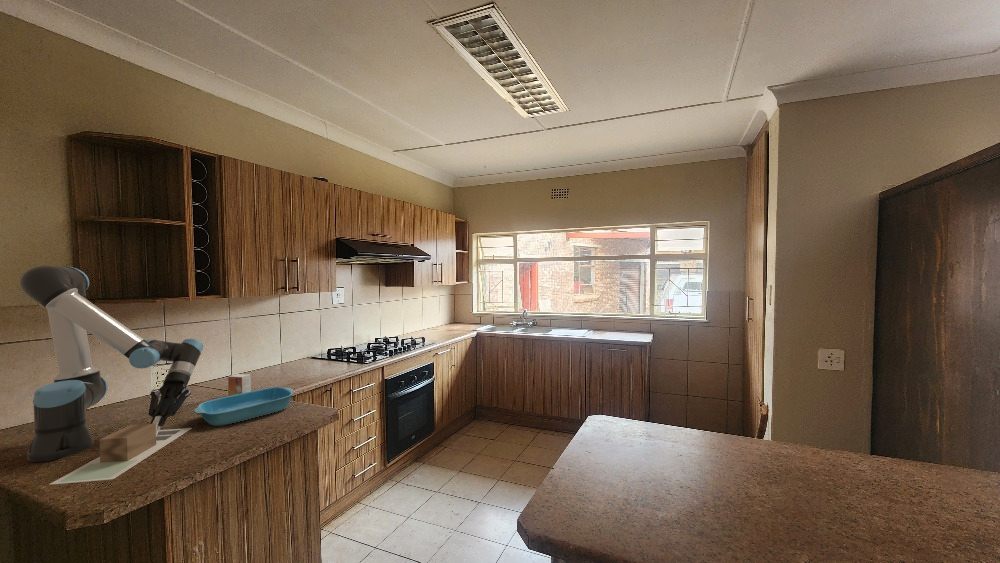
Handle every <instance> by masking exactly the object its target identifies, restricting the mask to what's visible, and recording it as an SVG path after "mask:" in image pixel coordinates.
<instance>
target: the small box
mask: <svg viewBox="0 0 1000 563" xmlns="http://www.w3.org/2000/svg"><path fill="white" fill-rule="evenodd" d="M251 378H252V374H248V373H246V374H245V373H236V374H232V375H229V376H227V379H228V380H227V381H228V384H227V385H228V386H227V387H228V391H227V392H228V396H232V395H236V394H241V393H246V392H250V391H252V379H251Z"/></svg>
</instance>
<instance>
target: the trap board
mask: <svg viewBox="0 0 1000 563" xmlns="http://www.w3.org/2000/svg"><path fill="white" fill-rule="evenodd" d="M192 429H193V428H192V427H188V428H187V427H185V428H173V429H171V428H170V429H169V428H168V429H159V432H158V434H157V436H156V445H155V446H153V447H151V448H149V449H148V450H146V451H144V452H142V453H141V454H139V455H137V456H135V457H134V458H132V459H130V460H128V461H118V462H101V463H100V456H98V457H96V458H94V459H93V460H91V461H89V462H87V463H85V464H84V465H81V466H80V467H78V468H76V469H74V470H72V471H70V472H69V473H67V474H66V475H63V476H62V477H60V478H58V479H57V480H55V481H52V482H51V483H49V484H48V485H50V486H48V487H51V486H53V485H58V486H63V485H64V484H69V486H73V485H75V484H76V483H81V485H82V484H86V483H87V482H93V484H94V483H96V481H97V482H100V481H104V483H105V482H110V481H111V480H114V479H115V478H117V477H119V476H120V475H123V473H125V472H126V471H129V469H131V468H133V467H135V466H136V465H137V464H139V463H141V462H142V461H143V460H145V459H147V458H148V457H150V456H151V455H152V454H154V453H156V452H158V451H159V450H161V449H162V448H163V447H164V448H165V446H167V445H168V444H170V443H172V442H173V441H174V440H176V439H178V438H179V437H181V436H182V435H184V434H186V433H187V432H189V431H190V430H192ZM72 483H73V484H72ZM62 484H63V485H62Z"/></svg>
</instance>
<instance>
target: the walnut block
mask: <svg viewBox="0 0 1000 563" xmlns="http://www.w3.org/2000/svg"><path fill="white" fill-rule="evenodd" d="M155 445H156V424H150V423H144V424H143V423H141V424H130V425H128V426H126V427H124V428H121V429H119V430H116V431H115V432H113V433H111V434H108V435H106V436H104V437H102V438H100V439H99V457H100V463H101V462H118V461H128V460H130V459H132V458H134V457H135V456H137V455H139V454H141V453H142V452H144V451H146V450H148V449H149V448H151V447H153V446H155Z"/></svg>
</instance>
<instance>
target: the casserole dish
mask: <svg viewBox="0 0 1000 563" xmlns="http://www.w3.org/2000/svg"><path fill="white" fill-rule="evenodd" d="M293 392H294V389H293V388H291V387H283V386H282V387H281V386H271V387H266V388H261V389H256V390H251V391H250V392H246V393H241V394H236V395H232V396H224V397H219V398H214V399H211V400H207V401H204V402H201V403H199V404H198V406H197V407H196V408H194V409H193V412H194V413H195V414H196V415H201V417H202V419H203V420H204V421H205V422H206V423H207V424H209V425H210V426H212V427H215V426H216V427H217V426H224V425H228V424H229V425H232V423H234V424H237V423H236V422H238V423H241V422H240V421H242V422H245V421H244V420H246V421H249V420H252V419H251V418H253V419H255V417H257V418H260V417H259V416H261V417H263V415H265V416H267V414H268V415H271V413H272V414H275V413H279V412H280V411H283V409H284V410H285V409H286V408H287V407H289V404H290V403H291V399H292V396H293ZM278 411H279V412H278ZM274 412H275V413H274ZM248 419H249V420H248Z"/></svg>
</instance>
